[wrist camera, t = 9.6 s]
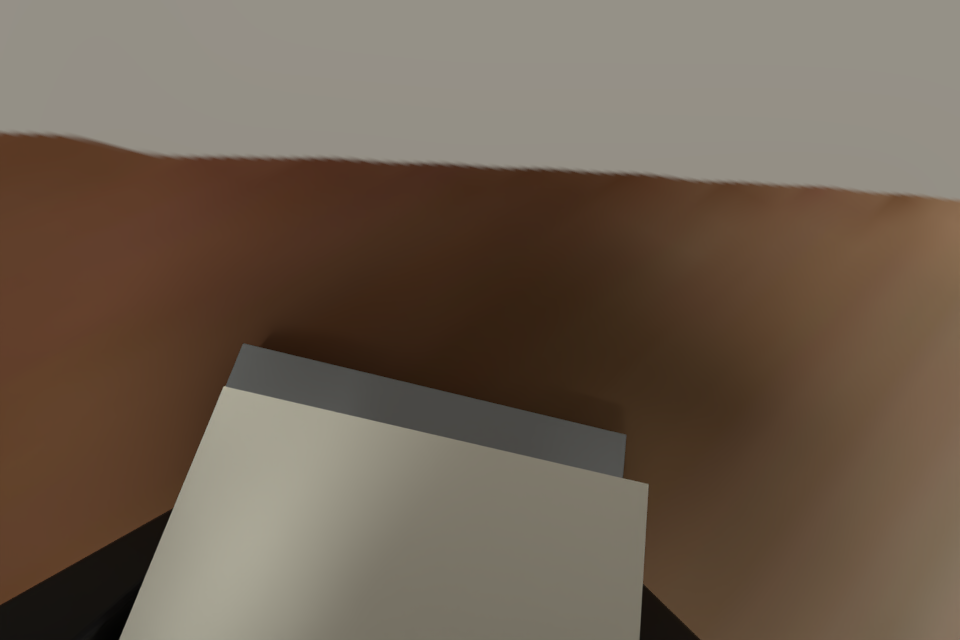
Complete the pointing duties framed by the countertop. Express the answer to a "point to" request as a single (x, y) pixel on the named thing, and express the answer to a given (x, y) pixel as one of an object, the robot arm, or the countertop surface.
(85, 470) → the countertop surface
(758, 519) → the countertop surface
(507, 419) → the grey flat plate
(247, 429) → the cream brick
